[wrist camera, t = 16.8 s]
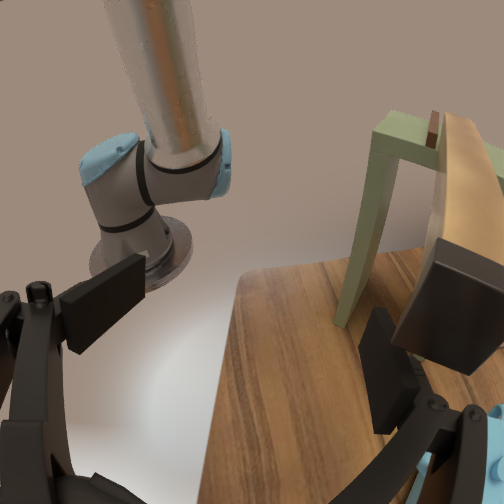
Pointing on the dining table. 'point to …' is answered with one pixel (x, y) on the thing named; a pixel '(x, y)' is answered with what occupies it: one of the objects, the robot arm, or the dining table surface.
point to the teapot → (497, 470)
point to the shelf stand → (380, 192)
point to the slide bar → (459, 259)
